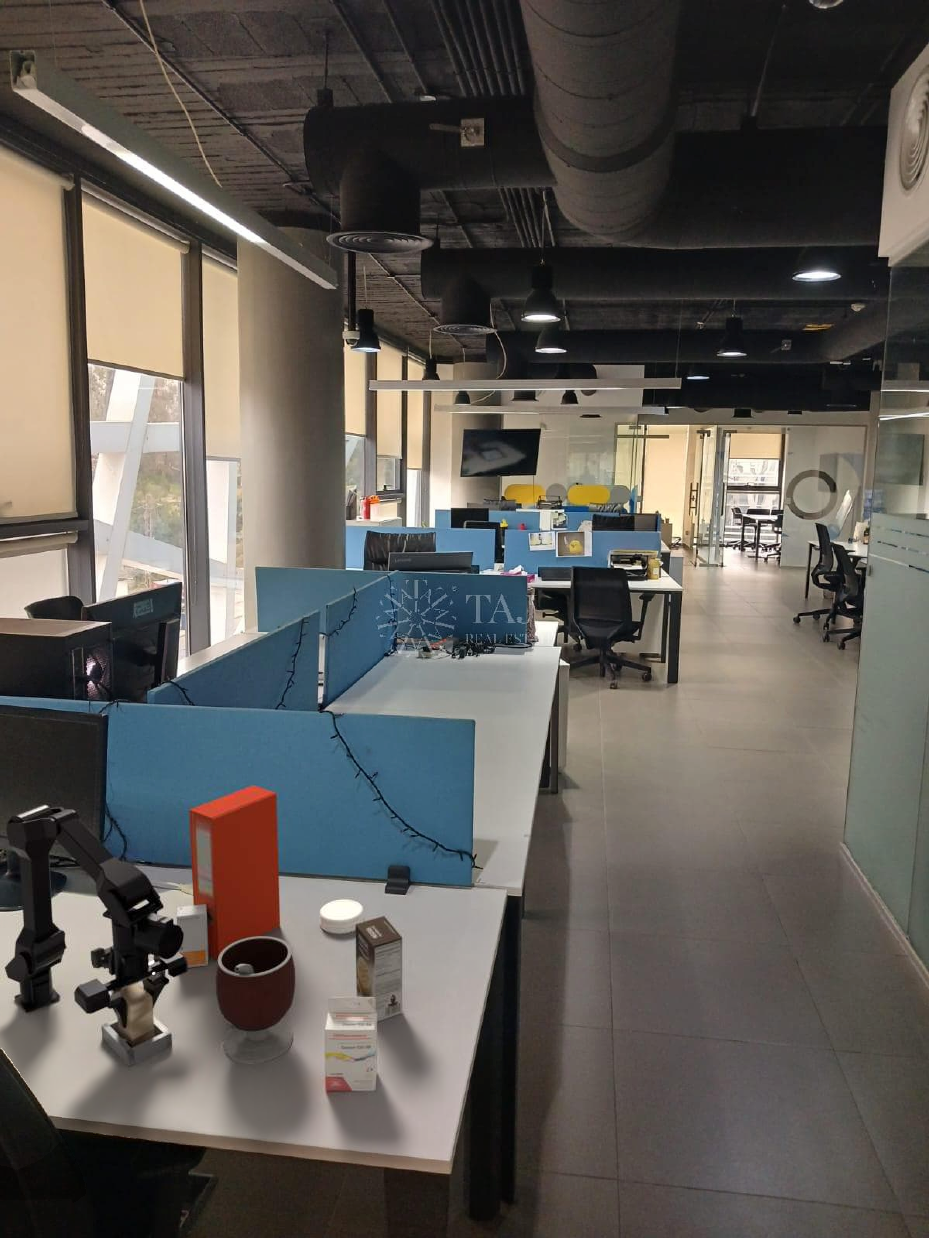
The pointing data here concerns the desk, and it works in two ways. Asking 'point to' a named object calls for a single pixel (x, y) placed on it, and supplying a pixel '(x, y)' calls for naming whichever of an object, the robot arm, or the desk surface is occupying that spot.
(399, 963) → the coffee box
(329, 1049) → the ink cartridge box
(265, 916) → the file binder
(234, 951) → the mate gourd
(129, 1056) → the collar
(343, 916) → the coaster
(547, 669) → the desk surface
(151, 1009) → the block
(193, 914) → the skincare box
